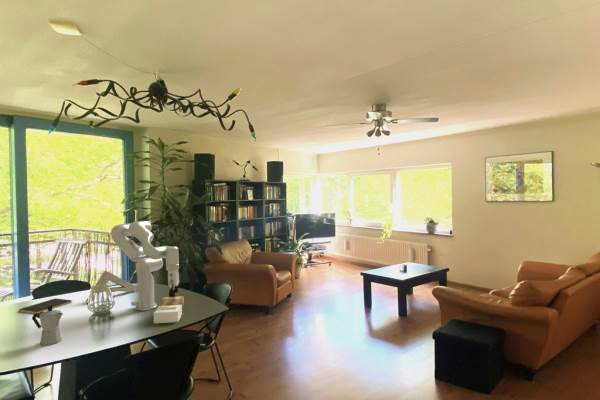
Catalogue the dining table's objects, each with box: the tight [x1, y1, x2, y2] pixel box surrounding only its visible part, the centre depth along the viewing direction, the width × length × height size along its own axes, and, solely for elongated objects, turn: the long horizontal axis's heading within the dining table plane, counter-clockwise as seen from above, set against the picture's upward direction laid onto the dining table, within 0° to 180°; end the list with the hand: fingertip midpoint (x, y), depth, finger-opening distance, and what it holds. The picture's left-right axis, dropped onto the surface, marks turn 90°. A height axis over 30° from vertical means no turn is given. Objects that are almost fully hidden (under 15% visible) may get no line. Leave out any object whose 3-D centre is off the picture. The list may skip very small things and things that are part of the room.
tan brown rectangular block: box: [161, 295, 185, 307], centre depth 215 cm, size 12×5×8 cm, turn 99°
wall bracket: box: [85, 270, 138, 303], centre depth 248 cm, size 22×4×30 cm
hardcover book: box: [18, 297, 73, 315], centre depth 226 cm, size 16×23×2 cm
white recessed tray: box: [153, 305, 183, 324], centre depth 202 cm, size 13×12×6 cm
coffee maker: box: [31, 305, 64, 347], centre depth 171 cm, size 15×9×18 cm, turn 92°
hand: (173, 294), depth 214 cm, fingers open, 9 cm apart
